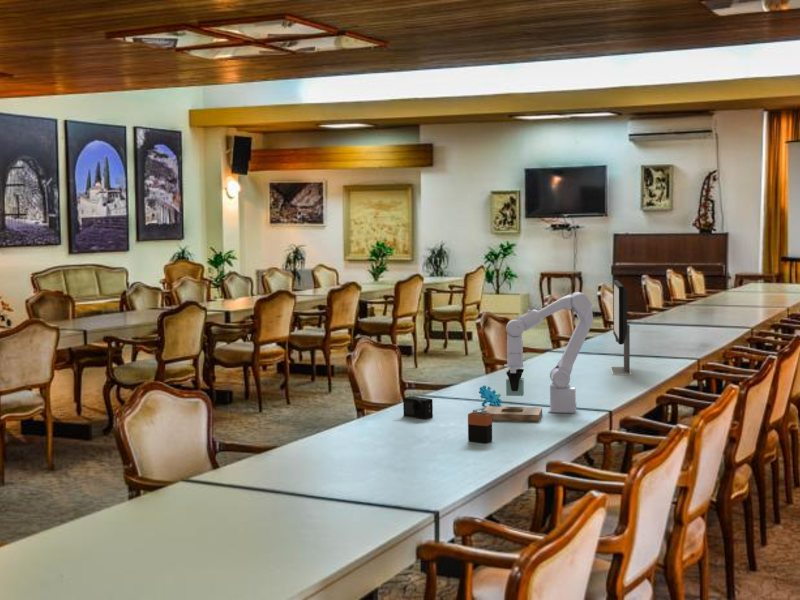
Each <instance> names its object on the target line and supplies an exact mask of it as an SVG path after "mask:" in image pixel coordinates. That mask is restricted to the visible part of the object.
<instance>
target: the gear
mask: <svg viewBox="0 0 800 600" xmlns="http://www.w3.org/2000/svg"><path fill="white" fill-rule="evenodd" d="M478 389H479V391H478V393H479V395H480V399H484V401H483V402H481V406H485V405H486V404H487V403H489V404H488V406H496V407H501V405H502V403H501V402H502V399H500V397H501V396H502V394H501V393H498V394H496V393H497V391H496V390H495V389H493V390H492V387H490V386H486V385H483V386H480V387H479V388H478Z"/></svg>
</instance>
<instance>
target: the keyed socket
mask: <svg viewBox="0 0 800 600" xmlns="http://www.w3.org/2000/svg"><path fill="white" fill-rule="evenodd" d="M484 410H486V411H488V412H487V413H491V414H492V422H520V423H521V422H523V423H524V422H525V423H526V422H527V423H540V420H541V418H542V415H543V407H540V406H539V407H536V406H535V407H534V406H532V407H531V406H528V407H527V406H498V407H496V406H494V405H493V406H490V405H488V406H485V408H484Z"/></svg>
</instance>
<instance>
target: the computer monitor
mask: <svg viewBox="0 0 800 600" xmlns="http://www.w3.org/2000/svg"><path fill="white" fill-rule="evenodd" d="M612 281H613V282H612V284H613V285H612V288H613V289H612V290H613V291H612V294H613V295H612V296H613V297H612V301H613V303H612V304H613V305H612V309H613V310H612V311H613V313H612V314H613V315H612V316H613V318H612V319H613V320H612V322H613V323H612V327H613V329H612V331H613V332H612V333H613V336H614V338H615V339H614V340H615V342H617V343H618V345H623V366H610V367H609V370H610V373H611V374H612V375H614V376H631V375H632V371H631V370H630V362H631V361H630V359H631V357H630V353H631V351H630V349H631V347H630V339H631V338H630V335H631V333H630V330H631V329H630V323H628V291H627V289H626V288H625V287H624V286H623V284H622V283H621V282H620V281H619V280H618V279H614V280H612Z"/></svg>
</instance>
